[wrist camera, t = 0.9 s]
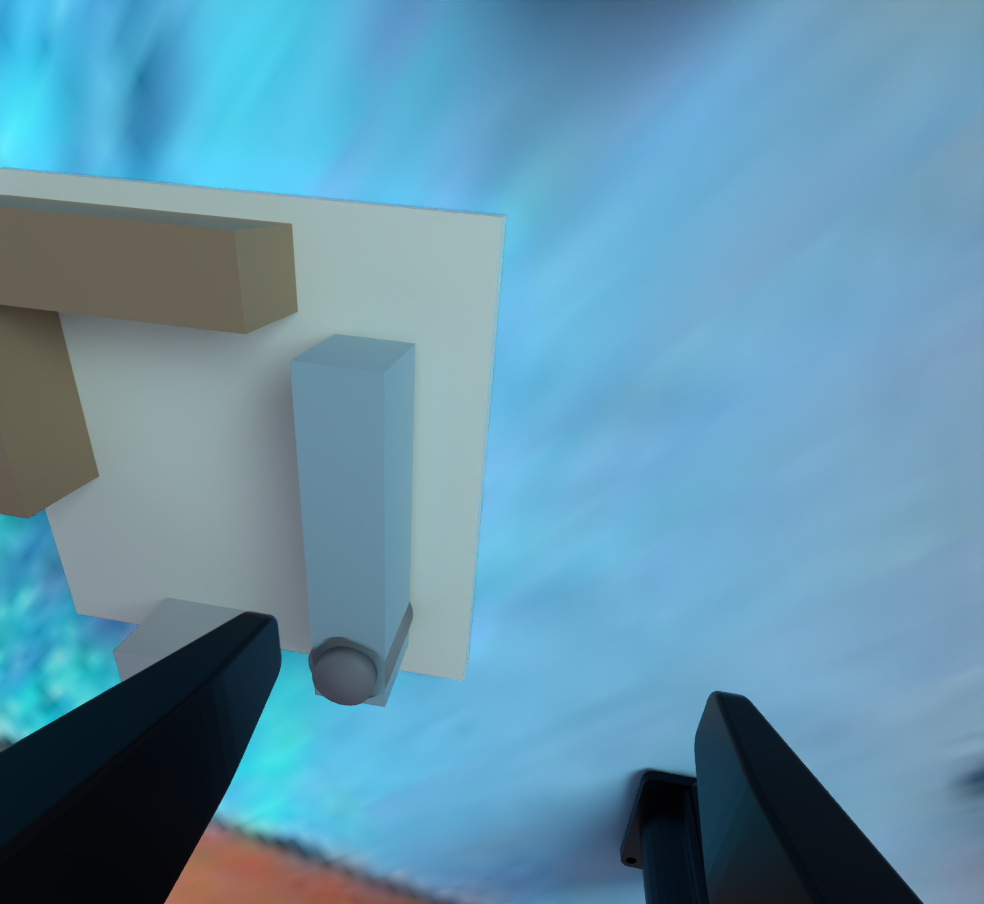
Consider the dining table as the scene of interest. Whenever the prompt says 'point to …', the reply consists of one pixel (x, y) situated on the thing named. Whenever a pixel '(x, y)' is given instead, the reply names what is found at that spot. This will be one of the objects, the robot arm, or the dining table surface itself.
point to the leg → (356, 510)
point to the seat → (230, 393)
